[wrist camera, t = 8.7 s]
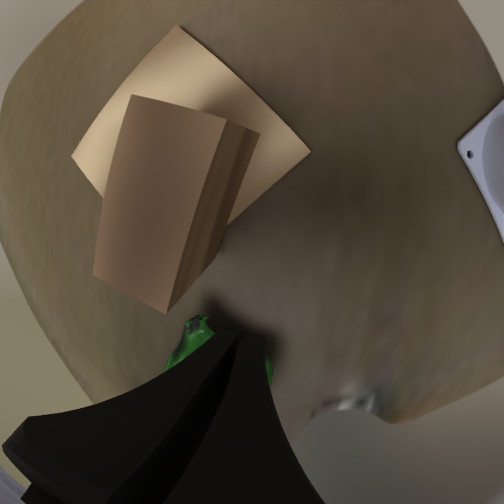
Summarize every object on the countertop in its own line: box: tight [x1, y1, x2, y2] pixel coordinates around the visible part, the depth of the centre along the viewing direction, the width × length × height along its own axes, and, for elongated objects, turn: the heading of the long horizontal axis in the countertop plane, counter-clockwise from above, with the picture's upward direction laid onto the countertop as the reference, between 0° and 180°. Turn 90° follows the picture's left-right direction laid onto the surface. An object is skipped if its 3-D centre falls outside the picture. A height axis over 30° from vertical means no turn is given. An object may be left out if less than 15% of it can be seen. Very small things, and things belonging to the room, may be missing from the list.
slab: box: [93, 94, 260, 314], centre depth 14 cm, size 4×8×7 cm, turn 159°
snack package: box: [164, 315, 273, 386], centre depth 20 cm, size 7×16×5 cm, turn 156°
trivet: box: [72, 25, 311, 226], centre depth 17 cm, size 12×12×1 cm
